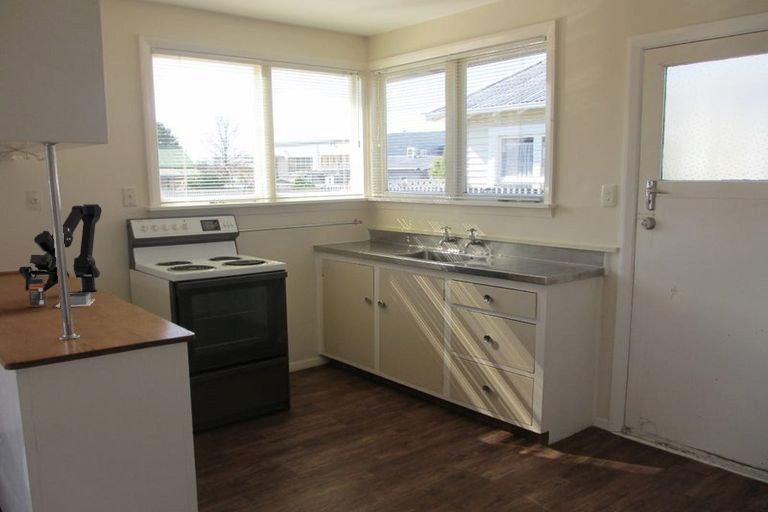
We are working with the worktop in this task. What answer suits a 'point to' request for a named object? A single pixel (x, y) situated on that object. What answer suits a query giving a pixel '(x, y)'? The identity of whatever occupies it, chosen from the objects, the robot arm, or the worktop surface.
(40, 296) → the supplement bottle
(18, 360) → the worktop surface
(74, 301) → the square collar
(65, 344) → the worktop surface
